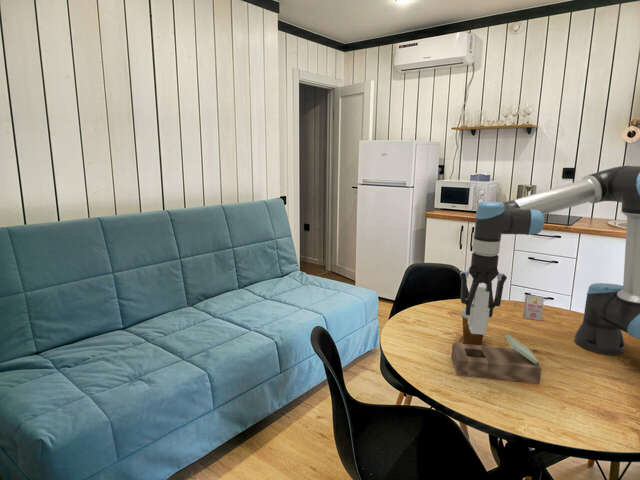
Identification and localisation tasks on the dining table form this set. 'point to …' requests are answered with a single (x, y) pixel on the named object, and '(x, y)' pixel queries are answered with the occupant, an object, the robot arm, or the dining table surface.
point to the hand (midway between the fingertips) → (477, 325)
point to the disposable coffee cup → (467, 336)
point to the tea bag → (533, 307)
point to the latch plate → (521, 349)
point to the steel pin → (479, 311)
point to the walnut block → (494, 363)
